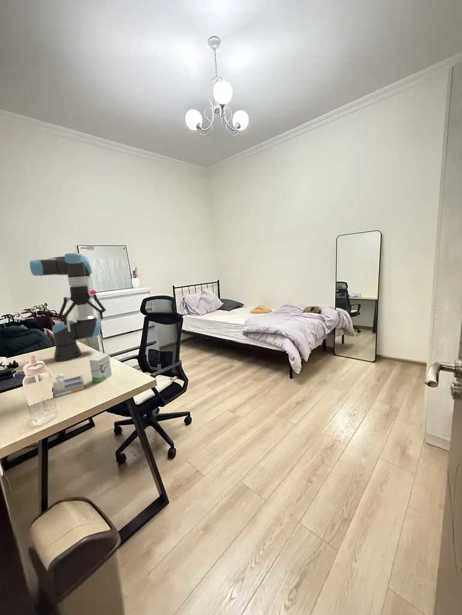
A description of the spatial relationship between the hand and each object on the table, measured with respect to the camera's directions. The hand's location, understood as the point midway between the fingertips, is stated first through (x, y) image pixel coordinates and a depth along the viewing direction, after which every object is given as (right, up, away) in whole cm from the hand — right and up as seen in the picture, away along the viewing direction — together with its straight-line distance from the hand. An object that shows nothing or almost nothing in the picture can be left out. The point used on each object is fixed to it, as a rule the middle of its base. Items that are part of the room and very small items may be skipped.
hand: (85, 328), depth 125 cm
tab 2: (-6, -27, -10) cm, 29 cm away
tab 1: (-10, -27, -4) cm, 28 cm away
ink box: (+7, -26, +4) cm, 27 cm away
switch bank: (-5, -28, -5) cm, 29 cm away
